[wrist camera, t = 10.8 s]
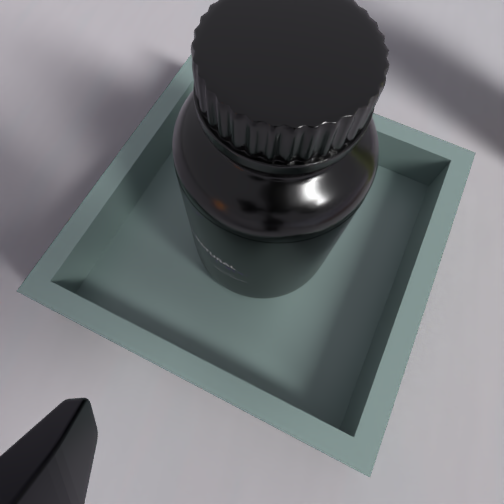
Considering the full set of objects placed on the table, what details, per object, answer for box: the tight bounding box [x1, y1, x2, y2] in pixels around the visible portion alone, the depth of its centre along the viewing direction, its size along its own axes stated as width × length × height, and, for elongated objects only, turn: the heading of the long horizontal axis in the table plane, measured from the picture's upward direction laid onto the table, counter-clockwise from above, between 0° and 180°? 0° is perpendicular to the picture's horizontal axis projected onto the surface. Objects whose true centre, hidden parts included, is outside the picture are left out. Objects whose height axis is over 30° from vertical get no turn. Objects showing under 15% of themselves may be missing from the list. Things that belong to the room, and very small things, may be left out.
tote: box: [17, 55, 475, 477], centre depth 20 cm, size 16×16×4 cm
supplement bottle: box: [172, 0, 389, 299], centre depth 15 cm, size 7×7×12 cm
